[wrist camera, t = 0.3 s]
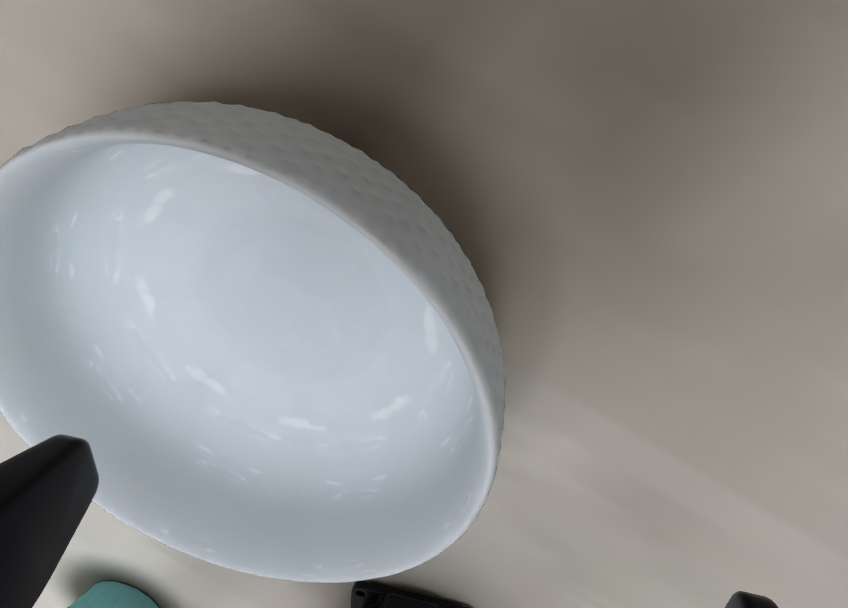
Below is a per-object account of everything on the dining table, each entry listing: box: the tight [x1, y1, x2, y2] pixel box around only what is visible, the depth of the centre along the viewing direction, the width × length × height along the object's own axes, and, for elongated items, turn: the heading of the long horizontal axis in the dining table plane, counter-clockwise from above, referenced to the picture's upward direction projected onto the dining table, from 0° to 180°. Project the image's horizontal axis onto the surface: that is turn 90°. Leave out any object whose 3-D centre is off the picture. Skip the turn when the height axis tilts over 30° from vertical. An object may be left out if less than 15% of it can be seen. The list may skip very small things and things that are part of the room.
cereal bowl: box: [0, 101, 505, 583], centre depth 22 cm, size 17×17×7 cm
